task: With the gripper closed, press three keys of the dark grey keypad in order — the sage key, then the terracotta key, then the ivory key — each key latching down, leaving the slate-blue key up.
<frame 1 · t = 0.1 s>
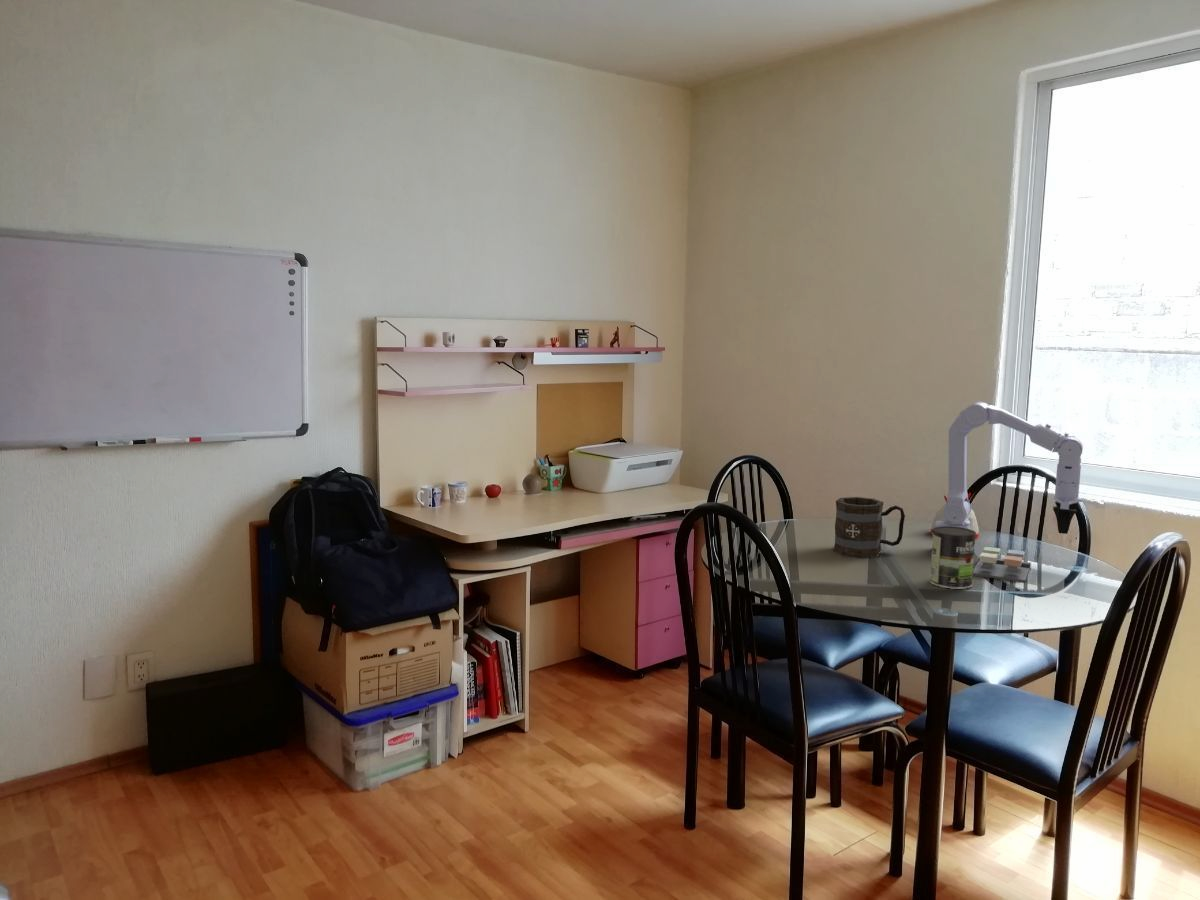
hand: (1063, 530, 248), 10 cm above the table, tool pointing down, fingers open, 7 cm apart
terracotta key: (1012, 564, 238), point 3 cm above the table, slide at 0.0 cm
keypad board: (1001, 571, 243), on the table
slate-blue key: (1015, 557, 244), point 3 cm above the table, slide at 0.0 cm
kitchen timer: (954, 536, 284), on the table
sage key: (991, 554, 247), point 3 cm above the table, slide at 0.0 cm
ivory key: (988, 560, 241), point 3 cm above the table, slide at 0.0 cm
coffee can: (950, 584, 233), on the table
mug: (868, 552, 263), on the table
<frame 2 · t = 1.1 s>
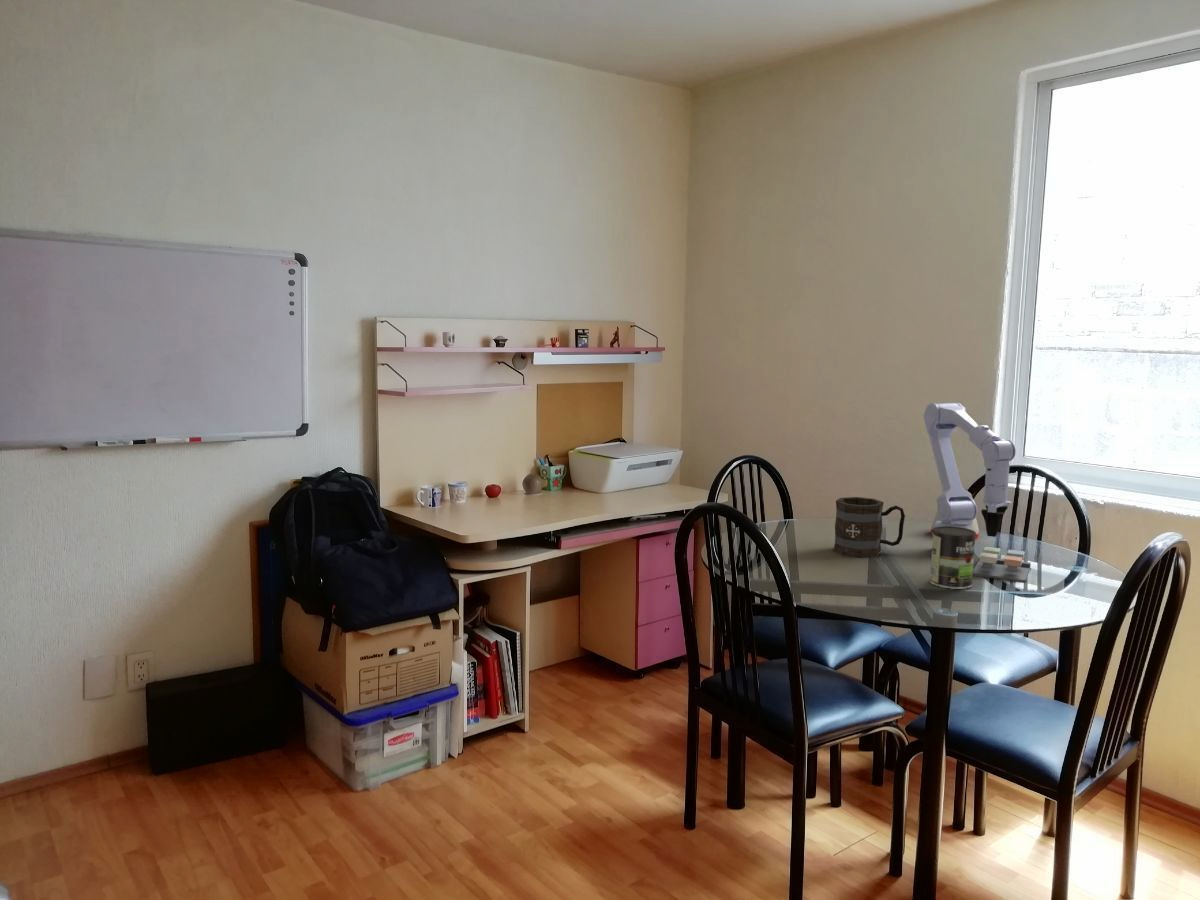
hand: (993, 533, 247), 9 cm above the table, tool pointing down, fingers open, 6 cm apart
nothing on the table moved.
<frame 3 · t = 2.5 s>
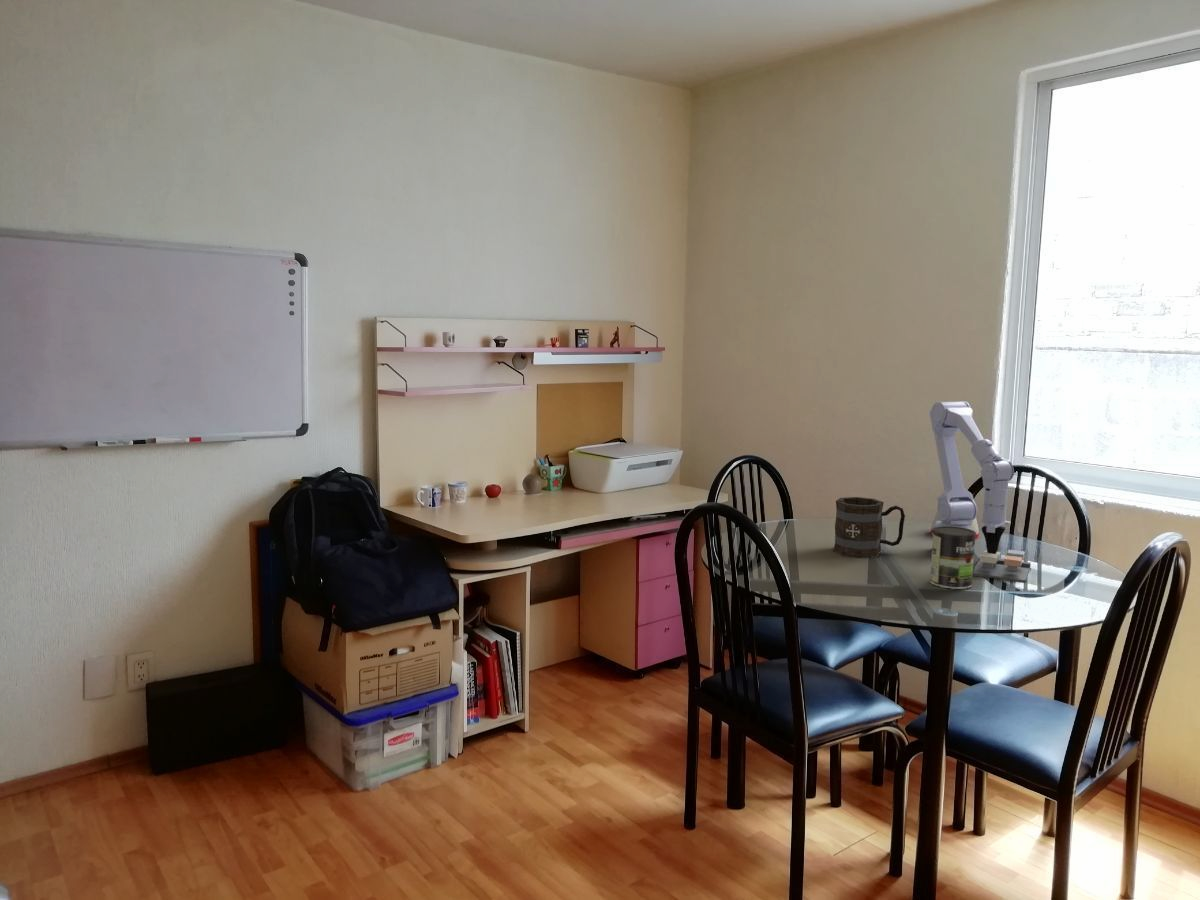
hand: (991, 553, 247), 4 cm above the table, tool pointing down, fingers closed, pressing on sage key
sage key: (991, 558, 248), point 2 cm above the table, slide at 1.0 cm, touching gripper
everything else where it was.
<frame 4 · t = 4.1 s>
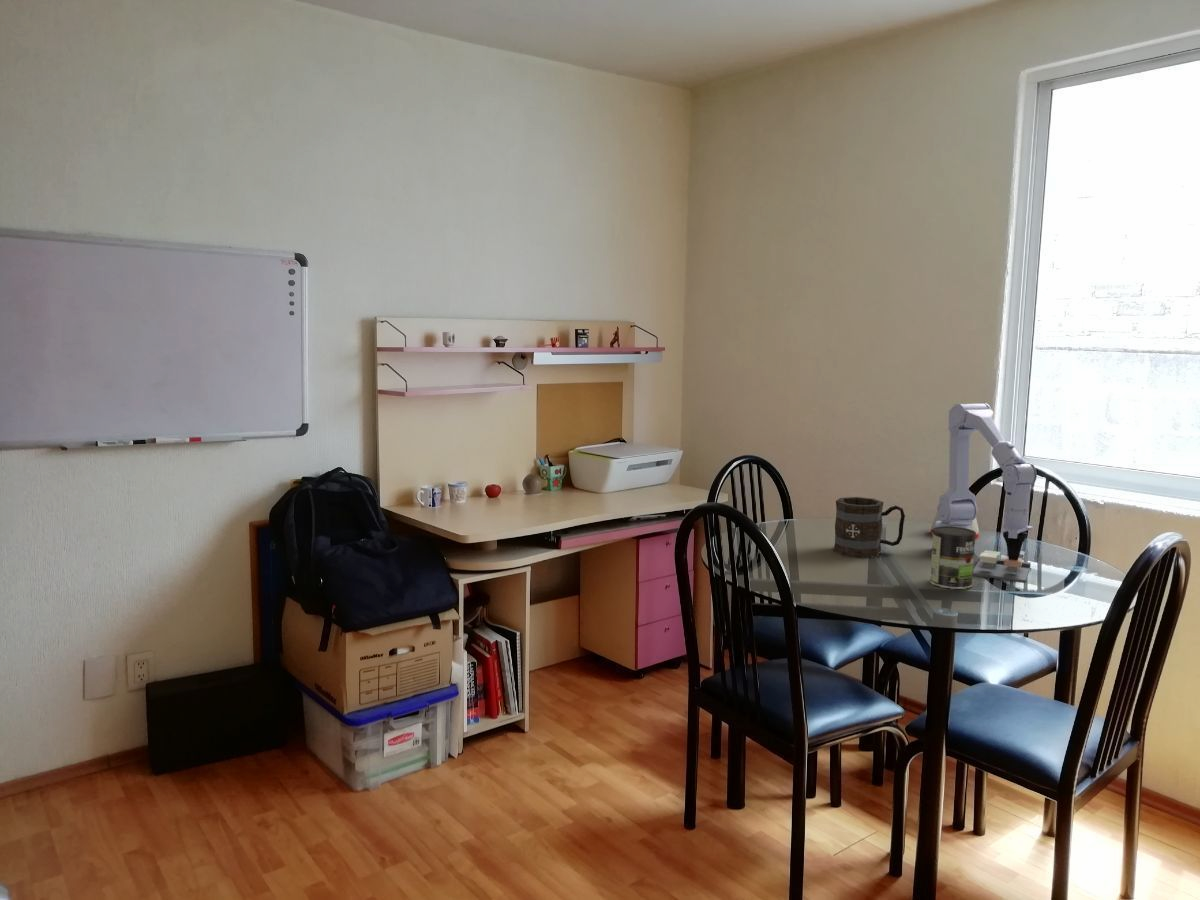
hand: (1013, 559, 238), 5 cm above the table, tool pointing down, fingers closed, pressing on terracotta key
terracotta key: (1012, 565, 239), point 3 cm above the table, slide at 0.3 cm, touching gripper
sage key: (991, 558, 248), point 2 cm above the table, slide at 1.0 cm
everything else where it was.
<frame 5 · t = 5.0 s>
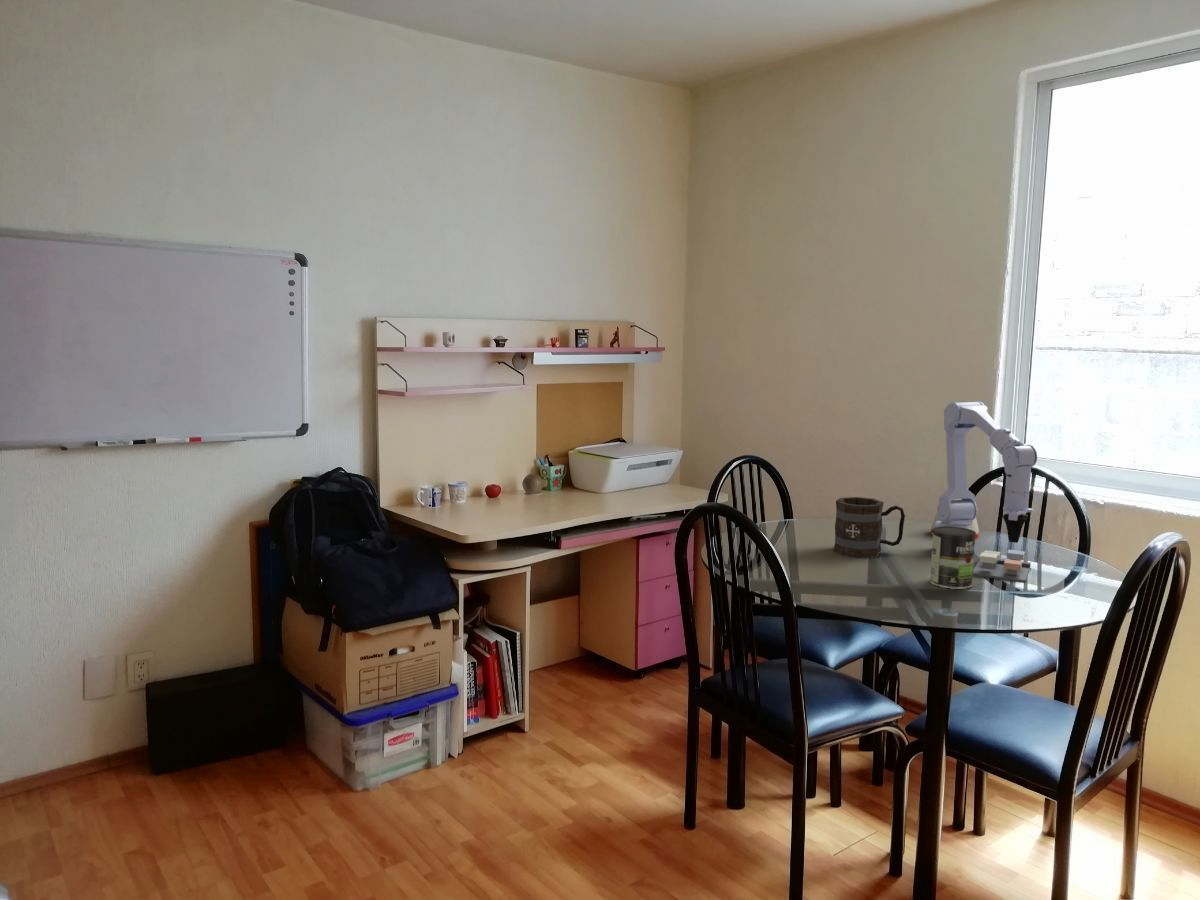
hand: (1013, 541, 238), 9 cm above the table, tool pointing down, fingers closed
terracotta key: (1012, 567, 239), point 2 cm above the table, slide at 1.0 cm
everything else where it was.
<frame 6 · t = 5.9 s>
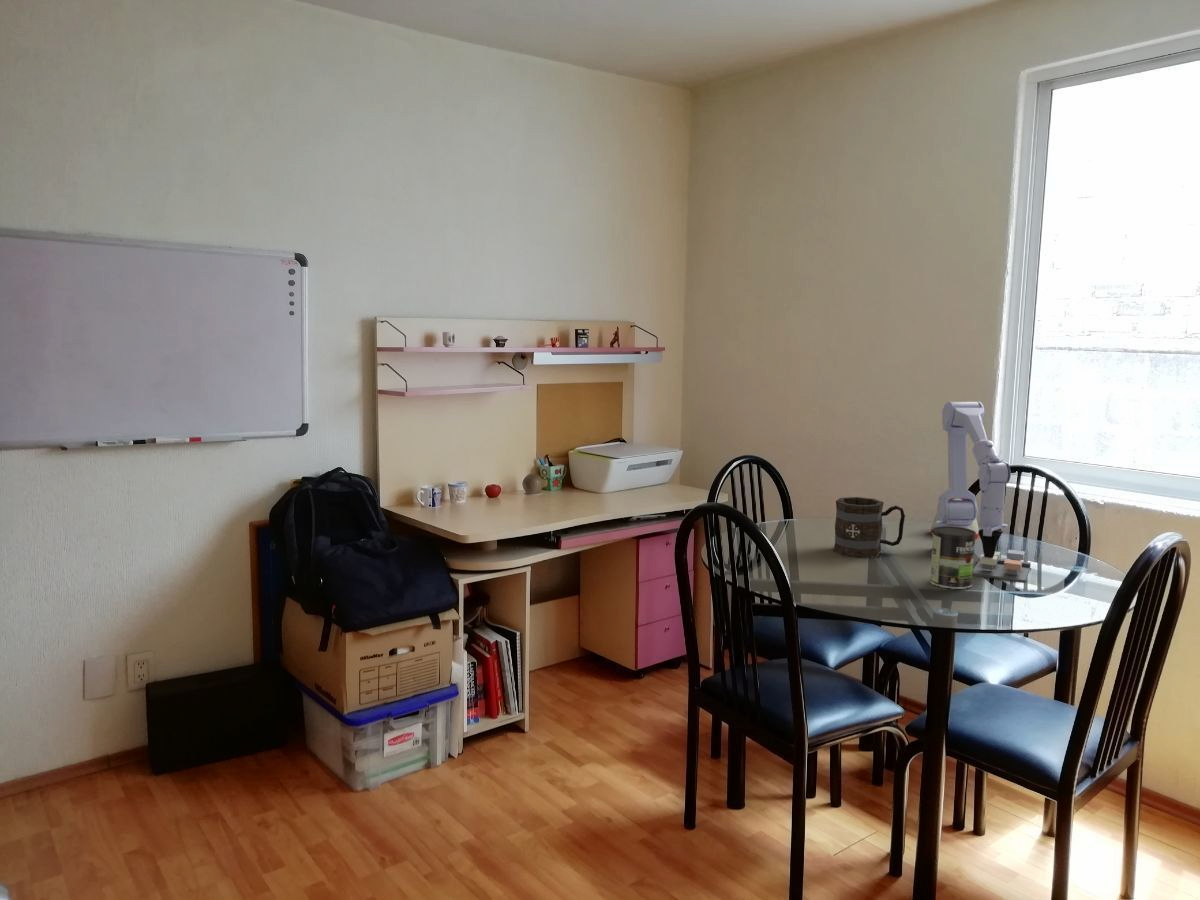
hand: (988, 557, 241), 4 cm above the table, tool pointing down, fingers closed, pressing on ivory key
ivory key: (988, 562, 241), point 3 cm above the table, slide at 0.5 cm, touching gripper
everything else where it was.
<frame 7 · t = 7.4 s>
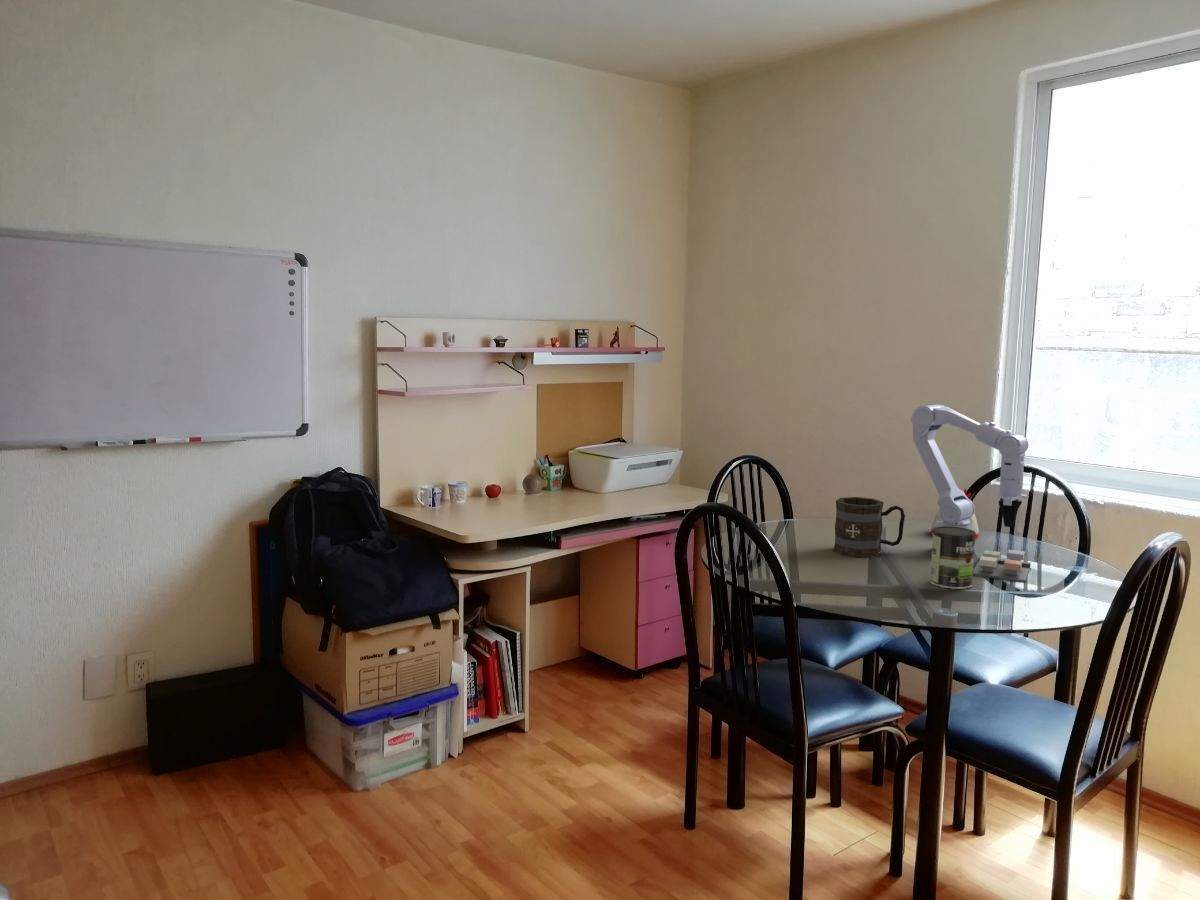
hand: (1008, 526, 250), 10 cm above the table, tool pointing down, fingers closed
ivory key: (988, 564, 242), point 2 cm above the table, slide at 1.0 cm
everything else where it was.
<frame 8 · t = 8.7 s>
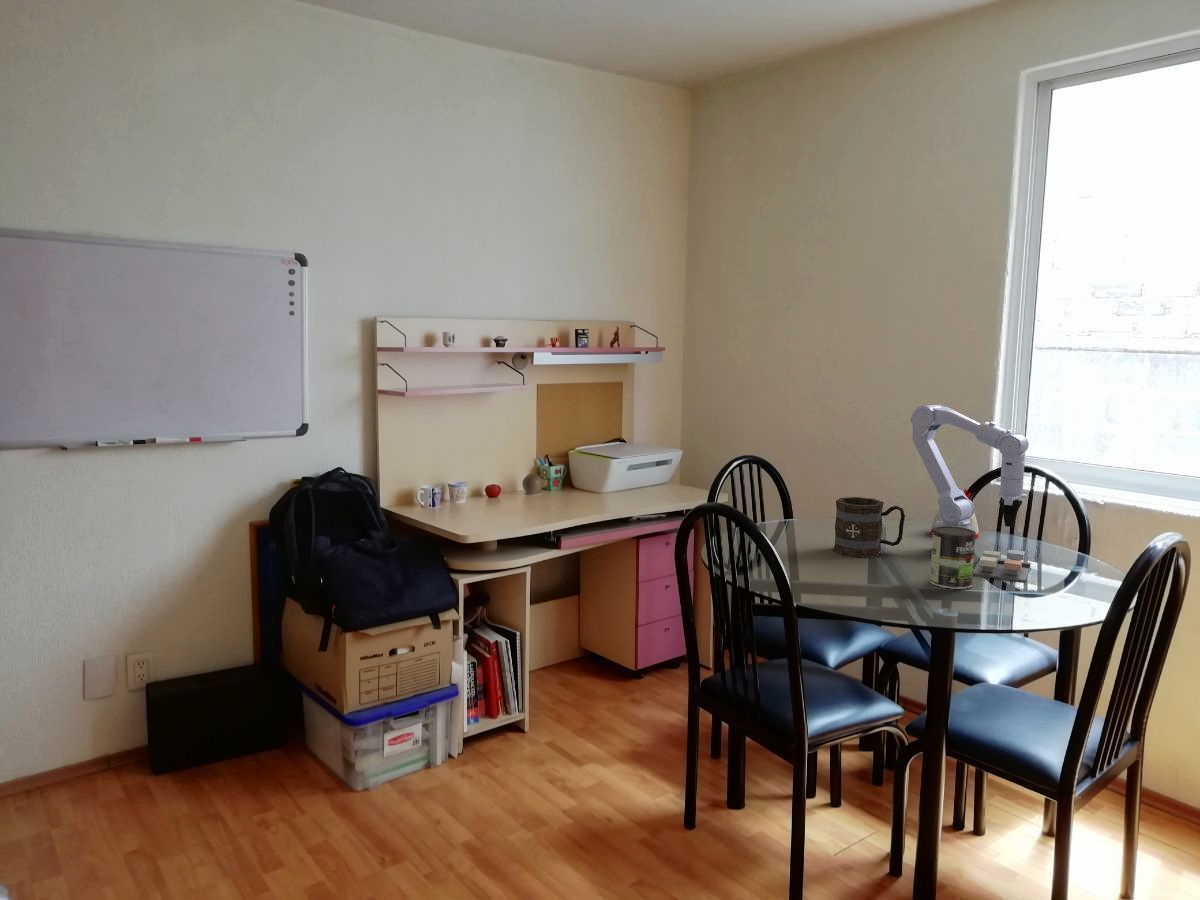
hand: (1009, 526, 251), 10 cm above the table, tool pointing down, fingers closed
nothing on the table moved.
at the end: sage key slide at 1.0 cm; terracotta key slide at 1.0 cm; ivory key slide at 1.0 cm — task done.
